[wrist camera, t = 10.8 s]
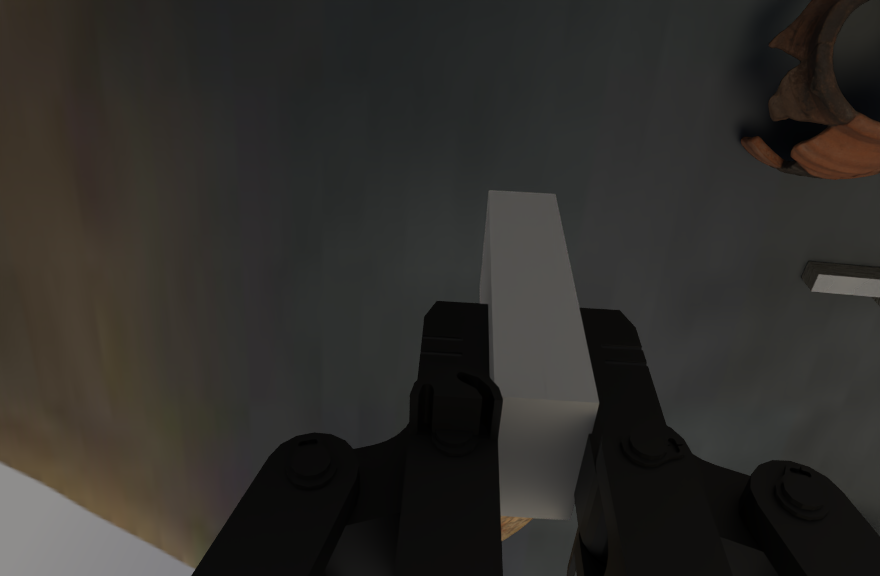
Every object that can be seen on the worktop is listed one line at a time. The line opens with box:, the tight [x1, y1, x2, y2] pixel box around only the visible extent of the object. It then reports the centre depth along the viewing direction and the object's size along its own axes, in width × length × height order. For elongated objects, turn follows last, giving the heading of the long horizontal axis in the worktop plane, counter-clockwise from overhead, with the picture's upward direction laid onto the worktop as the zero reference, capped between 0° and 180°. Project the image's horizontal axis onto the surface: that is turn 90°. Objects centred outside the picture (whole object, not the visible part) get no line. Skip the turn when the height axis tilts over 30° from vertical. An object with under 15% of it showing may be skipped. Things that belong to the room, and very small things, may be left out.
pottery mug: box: [741, 0, 880, 180], centre depth 32 cm, size 12×9×8 cm
